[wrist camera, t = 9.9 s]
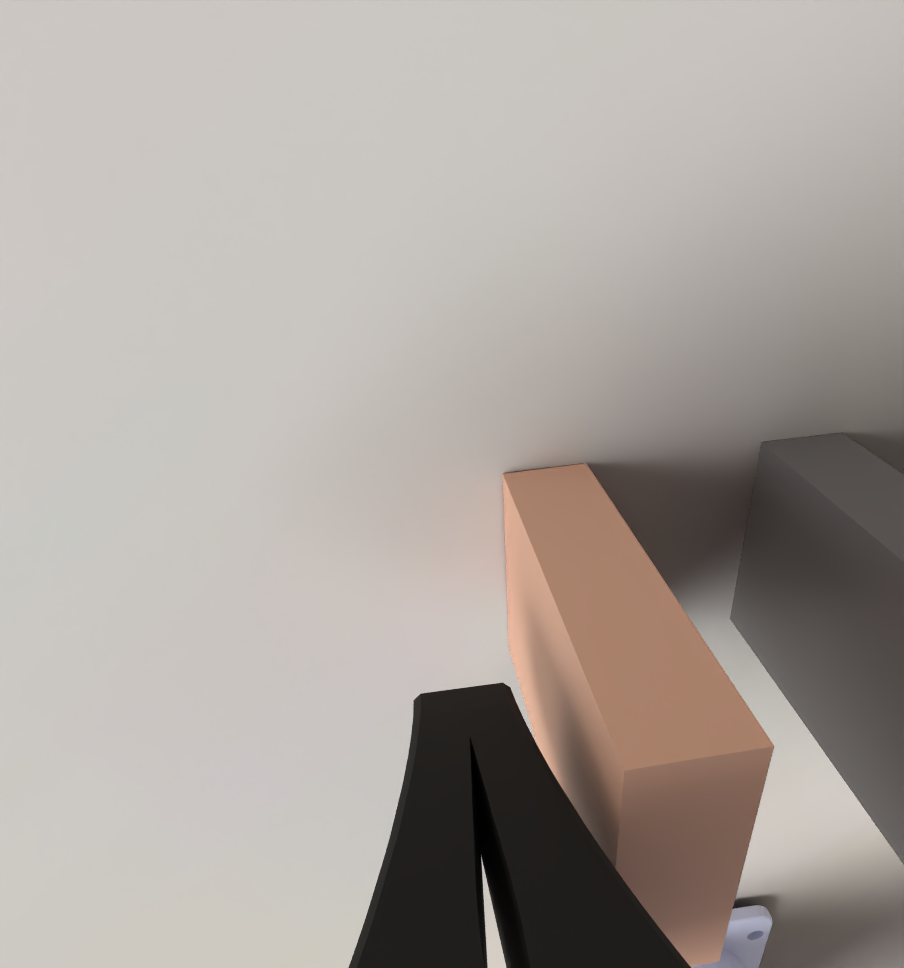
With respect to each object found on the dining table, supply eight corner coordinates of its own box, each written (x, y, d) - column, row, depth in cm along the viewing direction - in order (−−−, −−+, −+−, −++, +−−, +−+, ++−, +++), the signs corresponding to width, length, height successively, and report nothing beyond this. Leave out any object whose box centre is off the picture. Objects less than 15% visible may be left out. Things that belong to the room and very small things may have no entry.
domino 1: (586, 463, 12) (773, 745, 7) (580, 638, 15) (719, 961, 9) (502, 473, 12) (625, 770, 7) (509, 649, 14) (604, 982, 9)
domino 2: (842, 432, 13) (1210, 682, 7) (798, 609, 15) (1054, 907, 9) (761, 441, 13) (1069, 703, 7) (730, 618, 15) (946, 925, 9)
